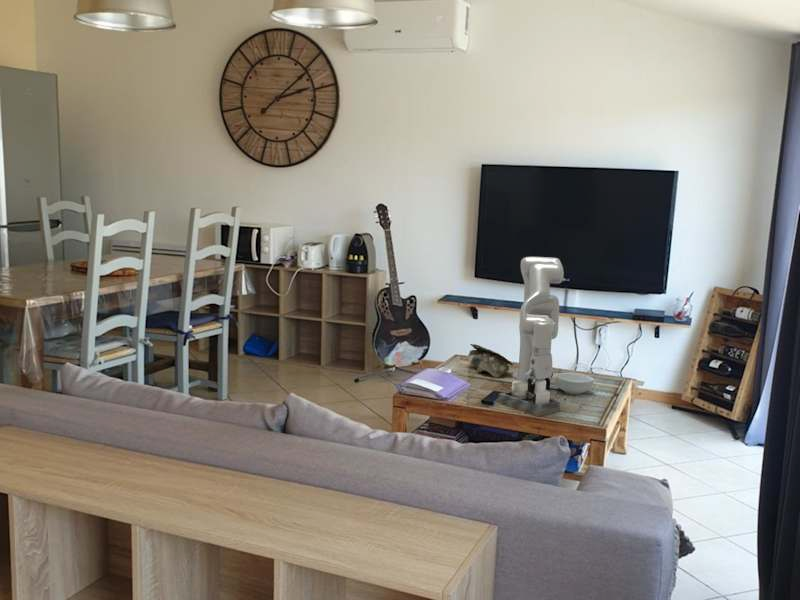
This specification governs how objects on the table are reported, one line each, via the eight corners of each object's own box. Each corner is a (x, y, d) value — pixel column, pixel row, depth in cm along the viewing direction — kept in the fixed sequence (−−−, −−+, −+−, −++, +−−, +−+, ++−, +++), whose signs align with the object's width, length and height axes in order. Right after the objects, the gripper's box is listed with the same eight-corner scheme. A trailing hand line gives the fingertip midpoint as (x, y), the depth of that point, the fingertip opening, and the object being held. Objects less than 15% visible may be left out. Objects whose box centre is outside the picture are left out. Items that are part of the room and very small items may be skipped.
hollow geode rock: (470, 374, 406) (453, 354, 400) (486, 355, 408) (469, 336, 402) (501, 386, 381) (483, 366, 375) (518, 367, 384) (500, 346, 378)
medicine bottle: (525, 405, 335) (526, 377, 333) (539, 403, 338) (541, 376, 336) (534, 410, 328) (536, 381, 326) (549, 408, 331) (551, 380, 329)
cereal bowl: (592, 398, 352) (593, 383, 351) (554, 395, 355) (555, 379, 354) (591, 388, 368) (592, 373, 367) (554, 385, 372) (555, 370, 371)
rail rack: (498, 402, 341) (499, 382, 339) (519, 397, 349) (520, 377, 348) (539, 416, 324) (540, 394, 322) (560, 410, 332) (561, 389, 331)
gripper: (534, 355, 321) (531, 396, 324) (562, 350, 331) (559, 390, 335) (520, 351, 326) (517, 392, 329) (548, 346, 337) (545, 385, 340)
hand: (538, 391), depth 332 cm, fingers open, 9 cm apart
